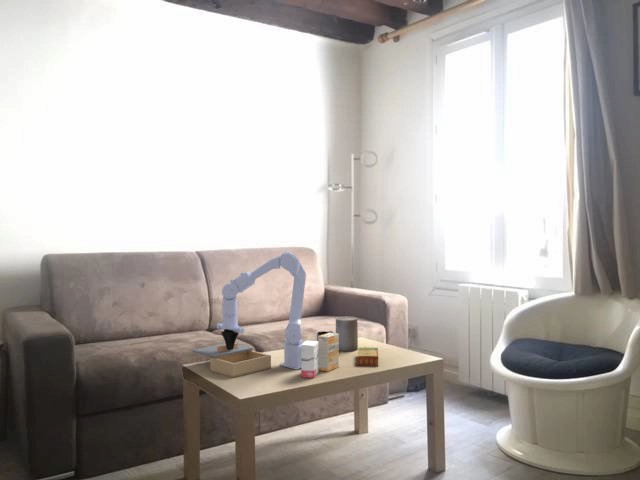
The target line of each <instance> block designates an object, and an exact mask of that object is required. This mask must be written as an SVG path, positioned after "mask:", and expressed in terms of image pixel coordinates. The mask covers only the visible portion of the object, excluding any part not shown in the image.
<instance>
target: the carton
mask: <svg viewBox="0 0 640 480" xmlns="http://www.w3.org/2000/svg"><path fill="white" fill-rule="evenodd" d="M357 366H361V367H365V366H366V367H378V366H379V348H378V347H358V349H357Z"/></svg>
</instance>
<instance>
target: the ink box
mask: <svg viewBox="0 0 640 480" xmlns="http://www.w3.org/2000/svg"><path fill="white" fill-rule="evenodd" d="M300 369H301V370H300V371H301V372H300V373H301V378H305V379H306V378H307V379H309V378H310V379H315V377H316V376H317V374H318V373H319V370H318V341H317V340H308V339H307V340H305V341H303V344H301V368H300Z"/></svg>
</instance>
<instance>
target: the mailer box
mask: <svg viewBox="0 0 640 480" xmlns="http://www.w3.org/2000/svg"><path fill="white" fill-rule="evenodd" d="M269 369H272V355H270V354H266V353H263V352H260V351H255V350H250V351H246V352H241V353H236V354H231V355H227V356H222V357H217V358H212V357H210V358H209V371H210V372H213V373H217V374H220V375H222V376H225V377H228V378H233V379H234V378H237V377H242V376H245V375H251V374H253V373H257V372H262V371H267V370H269Z"/></svg>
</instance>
